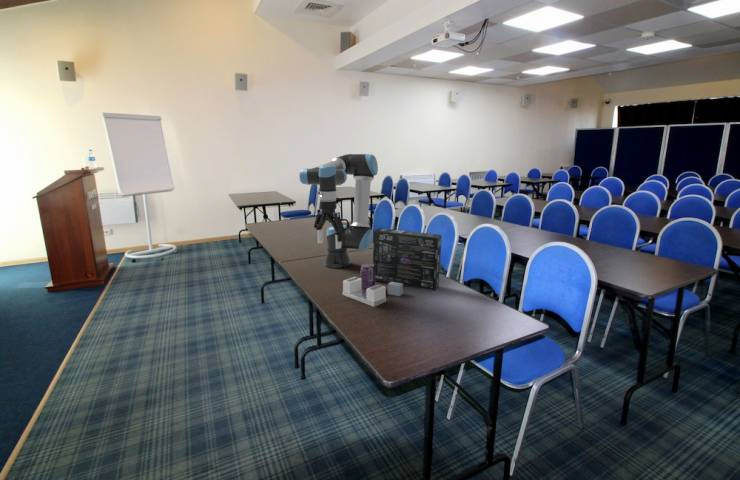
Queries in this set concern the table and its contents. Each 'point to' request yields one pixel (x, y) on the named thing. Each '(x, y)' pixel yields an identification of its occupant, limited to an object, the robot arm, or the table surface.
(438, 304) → the table surface
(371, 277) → the beverage can
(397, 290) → the block
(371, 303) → the white base plate
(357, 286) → the block
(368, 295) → the block
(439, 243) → the box
